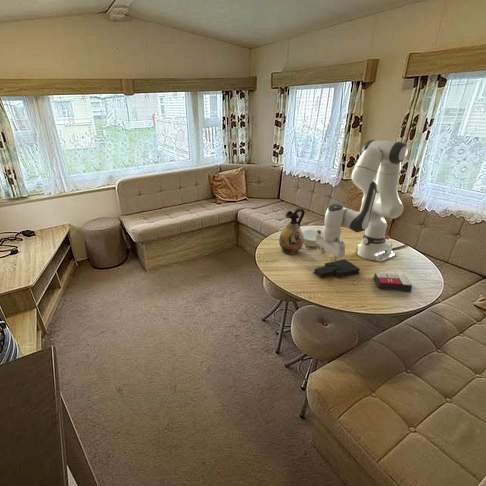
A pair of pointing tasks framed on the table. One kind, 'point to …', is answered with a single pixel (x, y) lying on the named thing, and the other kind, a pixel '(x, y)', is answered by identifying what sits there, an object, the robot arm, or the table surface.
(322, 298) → the table surface
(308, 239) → the cereal bowl
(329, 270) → the pad
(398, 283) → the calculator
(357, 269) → the pad
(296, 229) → the ceramic jug
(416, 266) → the table surface
